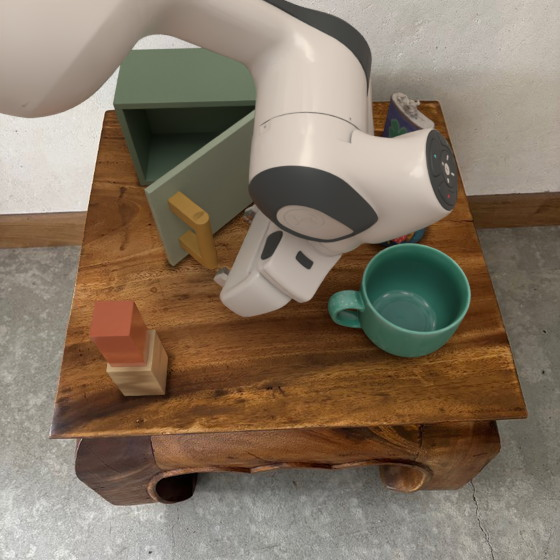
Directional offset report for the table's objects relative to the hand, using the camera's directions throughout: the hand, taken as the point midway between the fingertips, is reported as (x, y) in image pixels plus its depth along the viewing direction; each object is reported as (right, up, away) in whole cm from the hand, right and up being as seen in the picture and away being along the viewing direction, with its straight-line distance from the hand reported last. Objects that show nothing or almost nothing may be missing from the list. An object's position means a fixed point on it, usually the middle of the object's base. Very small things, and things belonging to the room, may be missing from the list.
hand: (234, 247), depth 67 cm
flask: (+25, +16, +20) cm, 36 cm away
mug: (+20, -10, +5) cm, 23 cm away
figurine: (+22, +4, +13) cm, 26 cm away
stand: (-11, -16, +1) cm, 20 cm away
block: (-11, -12, -6) cm, 17 cm away
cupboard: (-6, +16, +20) cm, 26 cm away
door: (-1, +3, +12) cm, 13 cm away
